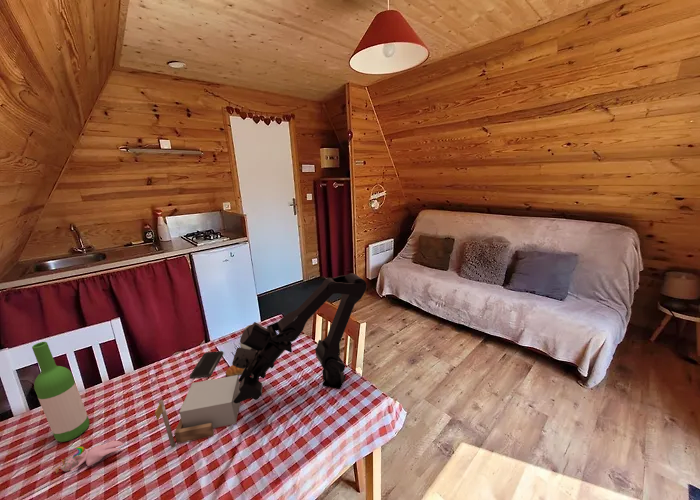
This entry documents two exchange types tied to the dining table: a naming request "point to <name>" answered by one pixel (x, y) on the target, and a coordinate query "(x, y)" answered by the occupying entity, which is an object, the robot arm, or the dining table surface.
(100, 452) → the rabbit figure
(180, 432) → the walnut pocket
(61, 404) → the wine bottle
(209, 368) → the phone
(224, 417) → the beige box
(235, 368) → the pastry
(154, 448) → the dining table surface
